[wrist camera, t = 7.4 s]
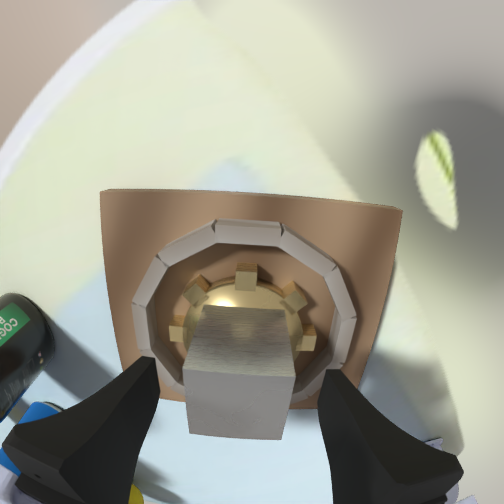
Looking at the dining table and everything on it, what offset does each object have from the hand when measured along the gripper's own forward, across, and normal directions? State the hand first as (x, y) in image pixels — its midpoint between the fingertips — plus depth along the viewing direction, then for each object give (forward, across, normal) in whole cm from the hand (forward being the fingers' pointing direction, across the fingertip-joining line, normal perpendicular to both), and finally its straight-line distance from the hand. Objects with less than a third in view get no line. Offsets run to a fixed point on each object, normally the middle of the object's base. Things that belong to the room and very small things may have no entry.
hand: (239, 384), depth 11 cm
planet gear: (+5, 0, 0) cm, 5 cm away
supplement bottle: (+6, +18, +4) cm, 20 cm away
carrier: (+6, 0, 0) cm, 6 cm away
